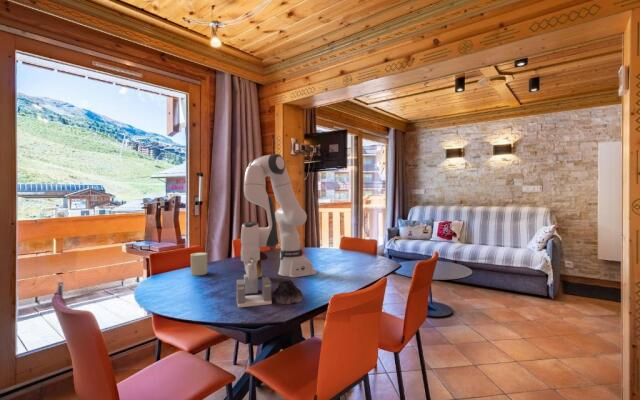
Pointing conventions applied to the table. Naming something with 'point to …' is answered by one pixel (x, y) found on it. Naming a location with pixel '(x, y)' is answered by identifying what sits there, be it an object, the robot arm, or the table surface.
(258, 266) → the decorative mushroom
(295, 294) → the dark grey rock
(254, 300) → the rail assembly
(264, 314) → the table surface
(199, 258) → the can
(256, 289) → the block
